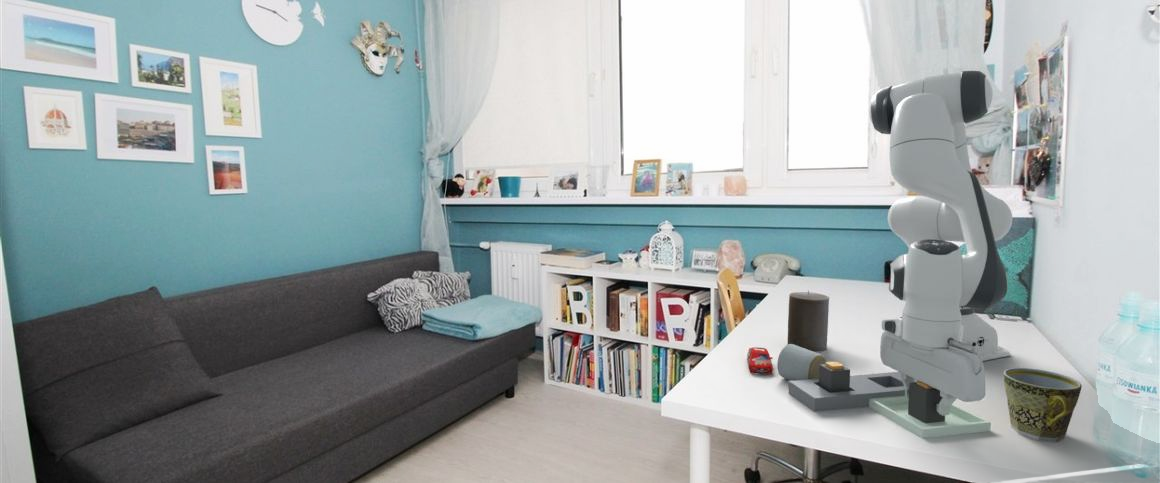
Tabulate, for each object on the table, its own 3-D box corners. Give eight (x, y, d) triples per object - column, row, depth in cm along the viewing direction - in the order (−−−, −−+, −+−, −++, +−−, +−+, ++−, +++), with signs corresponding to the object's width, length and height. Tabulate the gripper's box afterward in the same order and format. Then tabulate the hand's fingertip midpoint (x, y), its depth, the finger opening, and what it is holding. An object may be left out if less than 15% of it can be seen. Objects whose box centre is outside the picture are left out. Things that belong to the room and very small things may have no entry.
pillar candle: (788, 350, 139) (790, 293, 137) (785, 339, 148) (787, 286, 147) (829, 354, 136) (832, 295, 135) (824, 342, 146) (826, 287, 144)
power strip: (926, 382, 116) (928, 348, 115) (962, 399, 107) (964, 362, 106) (788, 395, 111) (789, 359, 110) (814, 413, 102) (815, 374, 101)
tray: (929, 402, 106) (929, 392, 106) (990, 432, 93) (990, 422, 93) (868, 408, 104) (868, 398, 104) (922, 440, 91) (922, 429, 91)
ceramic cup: (989, 418, 98) (993, 365, 97) (1056, 425, 96) (1060, 370, 94) (1025, 453, 86) (1029, 393, 85) (1102, 461, 83) (1108, 399, 82)
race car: (773, 378, 121) (774, 361, 121) (748, 376, 123) (748, 359, 122) (769, 359, 134) (770, 343, 133) (746, 357, 135) (747, 342, 135)
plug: (927, 412, 101) (928, 377, 100) (944, 421, 97) (946, 385, 96) (907, 414, 100) (909, 379, 99) (925, 423, 96) (926, 387, 95)
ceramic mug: (810, 392, 112) (811, 356, 112) (775, 380, 119) (776, 346, 118) (837, 381, 119) (838, 346, 118) (803, 370, 125) (804, 338, 124)
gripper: (999, 347, 87) (993, 429, 89) (903, 316, 107) (900, 384, 109) (964, 350, 86) (959, 433, 88) (875, 318, 106) (872, 386, 108)
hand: (926, 405), depth 98 cm, fingers open, 5 cm apart
